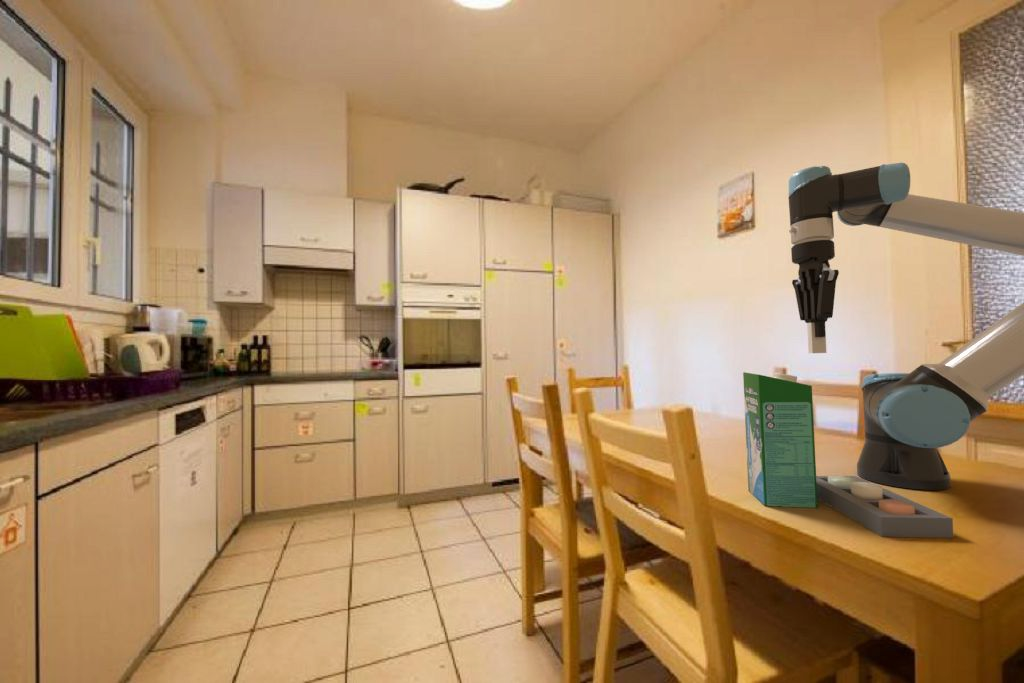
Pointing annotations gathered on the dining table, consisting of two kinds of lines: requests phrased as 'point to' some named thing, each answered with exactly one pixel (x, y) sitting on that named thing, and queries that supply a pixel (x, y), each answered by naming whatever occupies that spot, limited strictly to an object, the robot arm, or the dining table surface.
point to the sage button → (840, 480)
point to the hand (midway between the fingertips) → (817, 352)
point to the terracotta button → (896, 507)
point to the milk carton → (780, 440)
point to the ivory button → (866, 490)
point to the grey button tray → (879, 520)
